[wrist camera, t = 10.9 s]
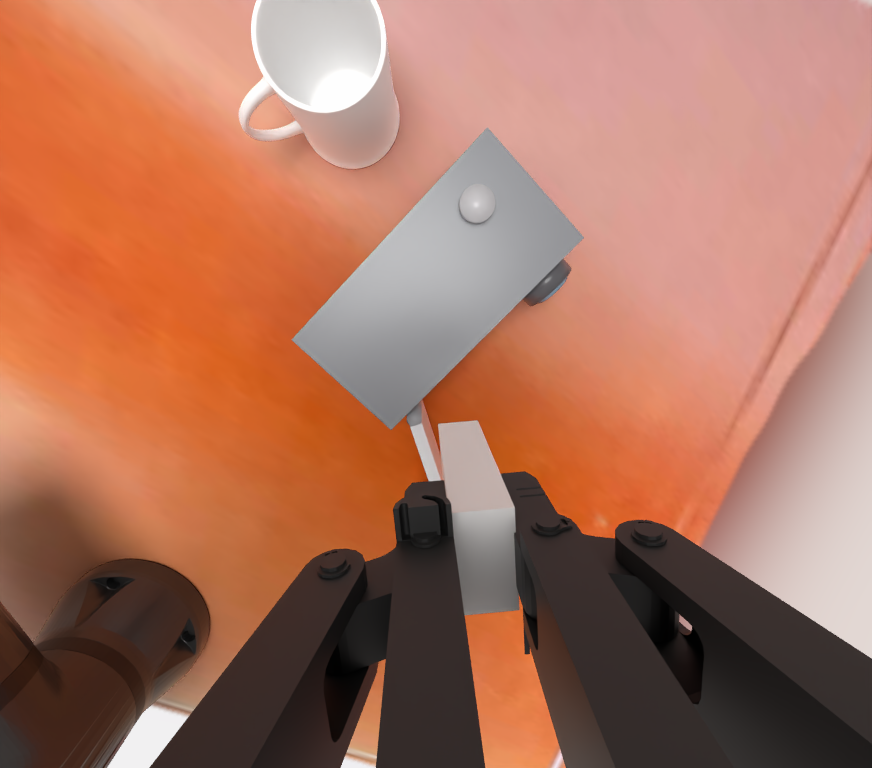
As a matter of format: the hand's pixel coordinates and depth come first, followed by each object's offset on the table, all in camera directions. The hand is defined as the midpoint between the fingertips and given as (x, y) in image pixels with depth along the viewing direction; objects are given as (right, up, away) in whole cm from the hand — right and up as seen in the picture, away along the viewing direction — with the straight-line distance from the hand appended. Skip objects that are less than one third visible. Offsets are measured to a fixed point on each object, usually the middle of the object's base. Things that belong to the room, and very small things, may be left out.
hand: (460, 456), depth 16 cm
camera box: (-1, +12, +24) cm, 27 cm away
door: (-2, -4, +28) cm, 28 cm away
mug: (-10, +25, +21) cm, 35 cm away
